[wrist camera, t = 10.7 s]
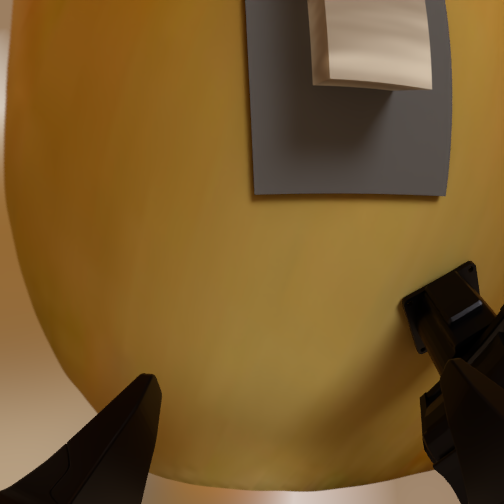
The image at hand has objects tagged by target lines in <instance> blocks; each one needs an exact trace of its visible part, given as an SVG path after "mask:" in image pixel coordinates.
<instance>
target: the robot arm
mask: <svg viewBox="0 0 504 504" xmlns="http://www.w3.org/2000/svg"><path fill="white" fill-rule="evenodd" d="M469 268H470V269H469ZM468 269H469V270H468ZM409 301H411V302H410V303H409V304H407V303H408V302H409ZM402 305H403V308H404V311H405V314H406V317H407V320H408V323H409V326H410V330H411V333H412V336H413V339H414V343H415V346H416V349H417V351H418V353H419V354H423V353H425V352H427V351H428V353H429V355H430V357H431V359H432V361H433V363H434V365H435V366H436V368H437V370H438V372H439V375H440V380H439V381H438V382H437V383H436V384H435V385H434V386H433V387H432V388H431V389H430V390H429V391H428V392H427V393H424V394H423V395H422V396H421V397H420V407H421V420H422V436H423V445H424V450H425V452H426V453H427V455H428V457H429V458H430V460H431V461H432V462H433V463H434V464H433V468H434V469H435V470H436V471H437V472H438V473H440V474H441V475H442V476H443V477H444V478H445V479H446V480H447V482H448V483H449V484H450V485H451V487H452V488H453V490H454V492H455V493H456V495H457V497H458V499H459V501H460V503H461V504H504V305H503V306H502V307H501V309H500V310H501V311H500V312H499V313H498V315H496V314H495V313H494V311H493V310H492V309H491V308H490V307H489V305H488V304H487V303H486V302H485V301H484V300H483V298H482V297H481V296H480V293H479V285H478V277H477V270H476V265H475V264H474V263H473V262H472V261H468V262H466V263H464V264H463V265H461V266H459V267H458V268H456V269H454V270H453V271H451V272H449V273H447V274H446V275H444V276H442V277H440V278H439V279H437V280H435V281H433V282H431V283H430V284H428V285H426V286H424V287H422V288H421V289H419V290H417V291H415V292H413V293H411V294H409V295H408V296H406V297H404V299H403V300H402ZM161 400H162V393H161V389H160V387H159V384H158V381H157V378H156V376H155V375H153V374H145V373H143V374H140V375H139V376H138V377H137V378H136V379H135V380H134V381H133V382H132V383H130V384H129V385H128V386H127V387H126V388H125V389H124V390H123V391H122V392H121V393H120V394H119V395H118V396H117V397H116V398H114V399H113V400H112V401H111V402H110V403H109V404H108V405H107V406H106V407H105V408H104V409H103V410H102V411H100V412H99V413H98V414H97V415H96V416H95V417H94V418H93V419H92V420H91V421H90V422H89V423H88V424H86V426H84V427H83V428H82V429H81V430H80V431H79V432H78V433H77V434H76V435H75V436H73V437H72V438H71V439H70V440H69V441H68V442H67V444H65V445H64V446H62V447H61V448H60V449H59V450H58V451H57V452H56V453H55V454H53V455H52V456H51V457H50V458H49V459H48V460H47V461H45V462H44V463H43V464H41V465H40V466H39V467H37V468H36V469H35V470H33V471H32V472H30V473H29V474H27V475H26V476H25V477H24V478H22V479H20V480H19V481H18V482H16V483H15V484H13V485H12V486H10V487H8V488H6V489H4V490H1V491H0V504H141V502H142V497H143V493H144V489H145V485H146V480H147V476H148V472H149V468H150V464H151V460H152V456H153V452H154V448H155V443H156V438H157V431H158V423H159V415H160V407H161Z"/></svg>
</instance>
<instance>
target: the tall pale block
mask: <svg viewBox="0 0 504 504" xmlns="http://www.w3.org/2000/svg"><path fill="white" fill-rule="evenodd" d="M307 3H308V15H309V28H310V42H311V59H312V80H313V85H320V86H344V87H359V88H371V89H382V90H391V91H399V90H432V71H431V53H430V40H429V30H428V21H427V12H426V5H425V0H307Z"/></svg>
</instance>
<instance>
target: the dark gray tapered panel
mask: <svg viewBox="0 0 504 504" xmlns="http://www.w3.org/2000/svg"><path fill="white" fill-rule="evenodd" d="M425 5H426V12H427V21H428V30H429V40H430V53H431V71H432V90H399V91H391V90H382V89H371V88H359V87H344V86H320V85H313V80H312V59H311V42H310V28H309V15H308V3H307V0H245V6H246V25H247V45H248V65H249V86H250V106H251V128H252V149H253V171H254V194H255V195H259V194H307V193H358V194H405V195H431V196H446V189H447V180H448V171H449V160H450V146H451V128H452V69H451V51H450V39H449V28H448V20H447V12H446V5H445V0H425Z"/></svg>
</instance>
